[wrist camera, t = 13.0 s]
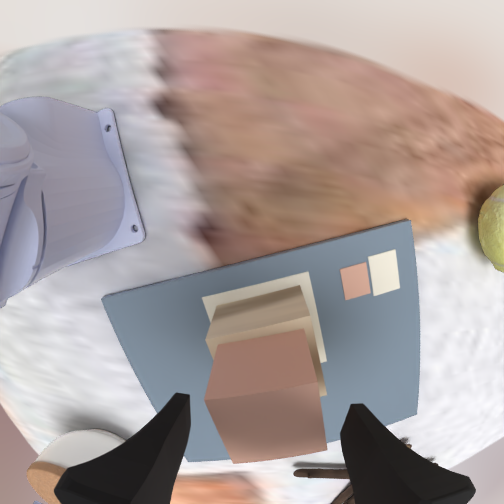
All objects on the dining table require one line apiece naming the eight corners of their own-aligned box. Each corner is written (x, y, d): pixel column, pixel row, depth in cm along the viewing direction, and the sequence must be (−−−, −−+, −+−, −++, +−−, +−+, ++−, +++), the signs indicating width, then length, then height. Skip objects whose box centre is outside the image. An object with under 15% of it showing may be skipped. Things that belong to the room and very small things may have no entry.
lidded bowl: (184, 451, 25) (161, 543, 14) (148, 493, 27) (127, 560, 17) (69, 388, 23) (12, 463, 13) (58, 444, 26) (21, 504, 15)
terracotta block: (217, 344, 16) (203, 400, 11) (303, 328, 15) (317, 382, 11) (239, 406, 17) (233, 463, 12) (315, 393, 16) (327, 450, 12)
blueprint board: (104, 296, 21) (100, 299, 20) (406, 219, 19) (411, 220, 18) (189, 457, 25) (188, 462, 24) (414, 410, 23) (417, 414, 22)
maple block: (216, 305, 20) (205, 340, 15) (299, 284, 19) (310, 315, 15) (240, 372, 21) (236, 413, 17) (315, 355, 21) (327, 395, 16)
